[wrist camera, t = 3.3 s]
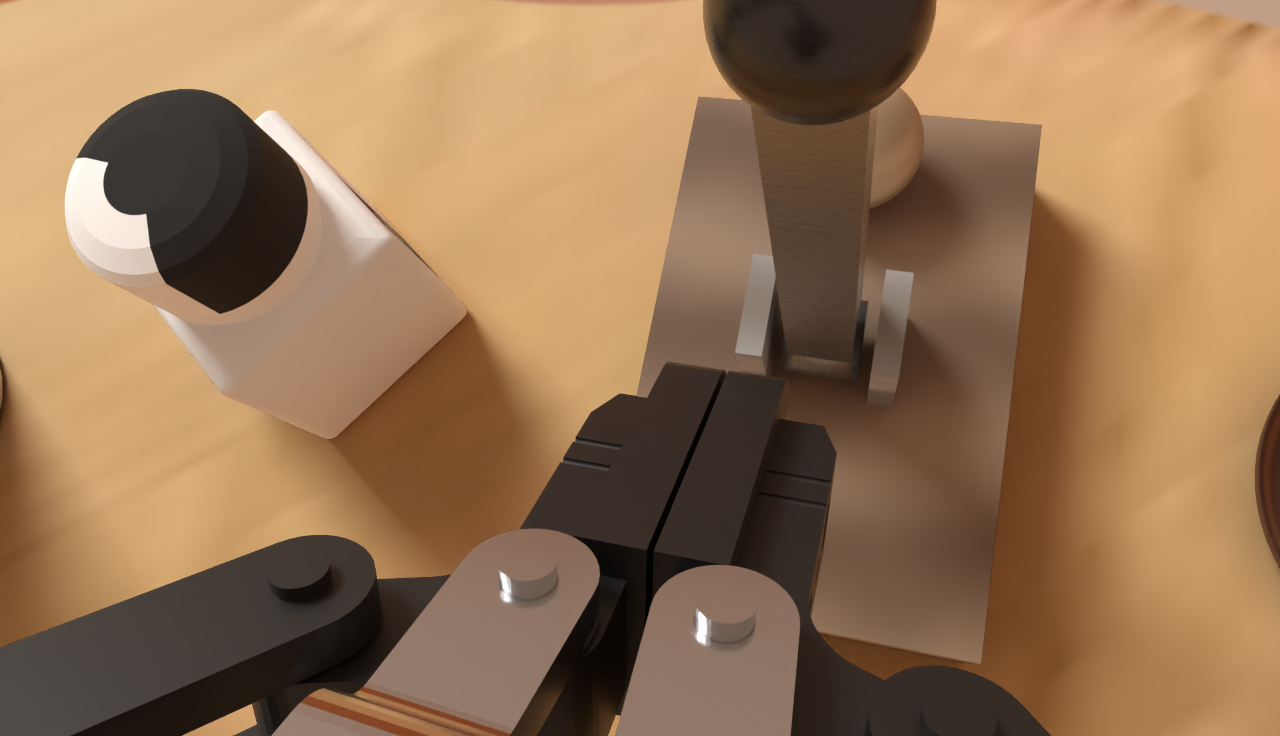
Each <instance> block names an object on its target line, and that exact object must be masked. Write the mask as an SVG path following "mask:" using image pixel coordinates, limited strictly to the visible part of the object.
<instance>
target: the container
mask: <svg viewBox="0 0 1280 736" xmlns="http://www.w3.org/2000/svg"><path fill="white" fill-rule="evenodd" d="M65 218H66V227H67V231H68V235H69V239H70V241H71V244H72V246H73V248H74V250H75V252H76V254H77V255H78V256H79V258H80V259H81V261H82V262H83V263H84V264H85V265H86V266H87V267H88V268H89V269H90V270H91V271H92V272H94V273H95V274H97V275H98V276H100V277H101V278H103V279H105V280H107V281H109V282H111V283H113V284H115V285H116V286H118V287H120V288H122V289H124V290H126V291H128V292H130V293H132V294H134V295H136V296H138V297H140V298H142V299H143V300H145V301H147V302H149V303H151V304H152V305H153V306H154V308H155V309H156V310H157V311H158V313H159V314H160V315H161V317H162V318H163V319H164V320H165V322H166V323H167V324H168V326H169V327H170V328H171V329H172V331H173V332H174V333H175V335H176V336H177V337H178V339H179V340H180V341H181V342H182V344H183V345H184V346H185V348H186V349H187V350H188V351H189V353H190V354H191V355H192V357H193V358H194V359H195V360H196V362H197V363H198V364H199V366H200V367H201V368H202V369H203V371H204V372H205V373H206V375H207V376H208V377H209V378H210V380H211V381H212V382H213V384H214V385H215V386H216V387H217V389H218V390H219V391H220V392H221V393H222V394H223V395H225V396H227V397H229V398H232V399H234V400H236V401H239V402H241V403H243V404H246V405H248V406H250V407H253V408H255V409H257V410H260V411H262V412H264V413H267V414H269V415H271V416H274V417H276V418H278V419H281V420H283V421H285V422H288V423H290V424H292V425H295V426H297V427H299V428H302V429H304V430H306V431H309V432H311V433H313V434H315V435H318V436H320V437H322V438H325V439H333V438H335V437H336V436H338V435H339V434H340V433H341V432H342V431H343V430H344V429H345V428H346V427H347V426H348V425H349V424H350V423H352V422H353V421H354V420H355V419H356V418H357V417H358V416H359V415H360V414H361V413H362V412H363V411H364V410H365V409H367V408H368V407H369V406H370V405H371V404H372V403H373V402H374V401H375V400H376V399H377V398H378V397H379V396H381V395H382V394H383V393H384V392H385V391H386V390H387V389H388V388H389V387H390V386H391V385H392V384H393V383H394V382H396V381H397V380H398V379H399V378H400V377H401V376H402V375H403V374H404V373H405V372H406V371H407V370H408V369H409V368H411V367H412V366H413V365H414V364H415V363H416V362H417V361H418V360H419V359H420V358H421V357H422V356H423V355H425V354H426V353H427V352H428V351H429V350H430V349H431V348H432V347H433V346H434V345H435V344H436V343H437V342H438V341H440V340H441V339H442V338H443V337H444V336H445V335H446V334H447V333H448V332H449V331H450V330H451V329H452V328H453V327H455V326H456V325H457V324H458V323H459V322H460V321H461V320H462V319H463V318H464V317H465V315H466V311H467V310H466V307H465V305H464V303H463V302H462V301H461V300H460V299H459V298H458V297H457V296H456V295H455V294H454V293H453V292H452V290H451V289H450V288H449V287H448V286H447V285H446V284H445V283H444V282H443V281H442V280H441V279H440V278H439V276H438V275H437V274H436V273H435V272H434V271H433V270H432V269H431V268H430V267H429V266H428V265H427V264H426V263H425V261H424V260H423V259H422V258H421V257H420V256H419V255H418V254H417V253H416V252H415V251H414V250H413V249H412V248H411V246H410V245H409V244H408V243H407V242H406V241H405V240H404V239H403V238H402V237H401V236H400V235H399V234H398V233H397V231H396V230H395V229H394V228H393V227H392V226H391V225H390V224H389V223H388V222H387V221H386V220H385V219H384V218H383V216H382V215H381V214H380V213H379V212H378V211H377V210H376V209H375V208H374V207H373V206H372V205H371V204H370V203H369V201H368V200H367V199H366V198H365V197H364V196H363V195H362V194H361V193H360V192H359V191H358V190H357V189H356V188H355V187H354V186H353V185H352V184H350V183H349V182H348V181H347V180H346V179H345V178H344V177H343V176H342V175H341V174H340V173H339V172H338V171H337V170H336V169H335V168H334V167H333V166H332V165H331V164H330V163H329V162H328V161H327V160H326V159H325V158H324V157H323V156H322V155H321V154H320V153H319V152H318V151H317V150H316V149H315V148H314V147H313V146H312V145H311V144H310V143H309V142H308V141H307V140H306V139H305V138H304V137H303V136H302V135H301V134H300V133H299V132H298V131H297V130H296V129H294V128H293V127H292V126H291V125H290V124H289V123H288V122H287V121H286V120H285V119H284V118H283V117H282V116H281V115H280V114H279V113H277V112H275V111H272V110H271V111H266V112H265V113H263V114H262V115H261V116H260V117H259V118H258V119H256V120H255V121H253V120H252V119H251V118H250V117H248V116H247V115H246V114H245V113H244V112H243V111H242V110H241V109H240V108H239V107H238V106H236V105H235V104H233V103H232V102H231V101H229V100H228V99H226V98H224V97H222V96H219V95H217V94H214V93H211V92H207V91H203V90H195V89H178V90H171V91H165V92H160V93H156V94H152V95H149V96H146V97H143V98H141V99H138V100H136V101H134V102H132V103H130V104H128V105H127V106H125V107H123V108H121V109H120V110H119V111H117V112H116V113H114V114H113V115H112V116H110V117H109V118H108V119H107V120H106V121H105V122H104V123H102V124H101V125H100V126H99V127H98V129H97V130H96V131H95V132H94V133H93V134H92V135H91V136H90V138H89V139H88V141H87V142H86V143H85V145H84V146H83V148H82V149H81V151H80V153H79V155H78V156H77V158H76V160H75V163H74V165H73V167H72V170H71V172H70V176H69V179H68V182H67V188H66V194H65Z"/></svg>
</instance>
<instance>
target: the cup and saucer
mask: <svg viewBox="0 0 1280 736" xmlns="http://www.w3.org/2000/svg"><path fill="white" fill-rule="evenodd" d="M1255 492H1256V501H1257V508H1258V512H1259V517H1260V521H1261V525H1262V528H1263V531H1264V534H1265V537H1266V540H1267V543H1268V545H1269V547H1270V550H1271V552H1272V554H1273V556H1274V559H1275V561H1276V562H1277V564H1278V566H1279V568H1280V395H1279V396H1278V398H1277V400H1276V401H1275V403H1274V405H1273V407H1272V409H1271V411H1270V413H1269V415H1268V417H1267V419H1266V422H1265V425H1264V427H1263V430H1262V433H1261V436H1260V440H1259V445H1258V449H1257V455H1256V464H1255Z"/></svg>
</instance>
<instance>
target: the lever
mask: <svg viewBox="0 0 1280 736" xmlns="http://www.w3.org/2000/svg"><path fill="white" fill-rule="evenodd" d="M935 13H936V0H704V1H703V21H704V29H705V35H706V40H707V43H708V46H709V49H710V52H711V55H712V58H713V61H714V62H715V64H716V66H717V68H718V70H719V72H720V73H721V75H722V77H723V78H724V80H725V81H726V82H727V84H728V85H729V86H730V88H731V89H732V90H733V91H734V92H735V93H736V94H737V95H738V96H739V97H740V98H741V99H743V100H744V101H745V102H746V103H748V104H749V105H750V106H751V112H752V118H753V125H754V132H755V139H756V146H757V153H758V159H759V166H760V173H761V180H762V187H763V193H764V200H765V207H766V214H767V221H768V228H769V234H770V241H771V248H772V255H773V262H774V269H775V275H776V282H777V289H778V296H779V303H780V310H781V316H782V323H783V337H782V345H781V356H780V370H781V371H782V372H788V373H795V374H802V375H809V376H816V377H823V378H830V379H837V380H844V381H851V382H857V378H858V372H859V366H860V360H861V353H862V346H863V340H864V333H865V326H866V319H867V311H868V303H869V301H866V300H862V291H863V279H864V267H865V256H866V244H867V232H868V221H869V209H870V197H871V185H872V174H873V162H874V150H875V139H876V127H877V115H878V105H879V104H881V103H882V102H883V101H885V100H886V99H887V98H889V97H890V96H891V95H892V94H893V93H894V92H895V91H896V90H897V89H898V88H899V87H900V86H901V85H902V84H903V83H904V82H905V81H906V80H907V78H908V77H909V76H910V74H911V73H912V72H913V70H914V69H915V67H916V65H917V64H918V62H919V60H920V58H921V56H922V54H923V53H924V51H925V49H926V46H927V43H928V41H929V38H930V35H931V31H932V28H933V23H934V19H935Z"/></svg>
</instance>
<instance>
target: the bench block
mask: <svg viewBox="0 0 1280 736" xmlns="http://www.w3.org/2000/svg"><path fill="white" fill-rule="evenodd" d="M1041 128H1042V125H1036V124H1024V123H1012V122H1000V121H988V120H975V119H963V118H951V117H939V116H927V115H920V114H919V112H918V109H917V108H916V106H915V104H914V103H913V101H912V100H911V98H910V97H909V96H908V95H907V94H906V93H905V92H904V91H903V90H902V89H901V88H900V87H899V88H898V89H897V90H896V91H895V92H894V93H893V94H892V95H891V96H890V97H889V98H887V99H886V100H885V101H883V102H882V103H881V104H879V105H878V115H877V127H876V139H875V150H874V162H873V174H872V185H871V197H870V209H869V221H868V232H867V244H866V256H865V267H864V279H863V291H862V300H866V301H869V303H868V311H867V319H866V326H865V333H864V340H863V346H862V353H861V360H860V366H859V372H858V378H857V382H851V381H844V380H837V379H830V378H823V377H816V376H809V375H802V374H795V373H788V372H782V371H781V370H780V356H781V345H782V337H783V323H782V316H781V310H780V303H779V296H778V289H777V282H776V275H775V269H774V262H773V255H772V248H771V241H770V234H769V228H768V221H767V214H766V207H765V200H764V193H763V187H762V180H761V173H760V166H759V159H758V153H757V146H756V139H755V132H754V125H753V118H752V112H751V106H750V105H749V104H748V103H746V102H745V101H744V100H733V99H721V98H709V97H698V101H697V106H696V111H695V116H694V121H693V125H692V130H691V135H690V140H689V145H688V150H687V154H686V159H685V164H684V169H683V174H682V179H681V183H680V188H679V193H678V198H677V203H676V208H675V213H674V217H673V222H672V227H671V232H670V237H669V242H668V246H667V251H666V256H665V261H664V266H663V271H662V275H661V280H660V285H659V290H658V295H657V300H656V304H655V309H654V314H653V319H652V324H651V329H650V333H649V338H648V343H647V348H646V353H645V358H644V362H643V367H642V372H641V377H640V382H639V387H638V391H637V396H639V397H645V398H647V397H648V395H649V393H650V391H651V389H652V387H653V385H654V384H655V382H656V380H657V378H658V376H659V374H660V372H661V370H662V368H663V367H664V365H665V363H666V362H675V363H682V364H689V365H695V366H702V367H708V368H715V369H722V370H725V371H726V375H727V373H728V371H736V372H743V373H750V374H756V375H763V376H770V377H776V378H783V379H788V397H787V407H786V416H785V420H790V421H796V422H803V423H809V424H815V425H821V426H824V427H825V429H826V431H827V433H828V435H829V438H830V440H831V442H832V444H833V446H834V448H835V450H836V452H837V456H836V463H835V471H834V478H833V485H832V492H831V500H830V507H829V514H828V522H827V529H826V536H825V543H824V551H823V556H822V562H821V567H820V573H819V578H818V582H817V589H816V594H815V599H814V605H813V609H812V616H811V618H812V621H813V624H814V626H815V628H816V629H817V631H818V633H819V634H823V635H828V636H833V637H838V638H843V639H848V640H853V641H858V642H862V643H867V644H872V645H877V646H882V647H887V648H892V649H897V650H902V651H907V652H912V653H917V654H922V655H927V656H932V657H936V658H941V659H946V660H951V661H956V662H961V663H972V664H981V660H982V651H983V642H984V633H985V624H986V616H987V607H988V598H989V589H990V580H991V571H992V562H993V554H994V545H995V536H996V527H997V518H998V509H999V500H1000V491H1001V483H1002V474H1003V465H1004V456H1005V447H1006V438H1007V429H1008V421H1009V412H1010V403H1011V394H1012V385H1013V376H1014V367H1015V359H1016V350H1017V341H1018V332H1019V323H1020V314H1021V305H1022V296H1023V288H1024V279H1025V270H1026V261H1027V252H1028V243H1029V234H1030V226H1031V217H1032V208H1033V199H1034V190H1035V181H1036V172H1037V164H1038V155H1039V146H1040V137H1041Z"/></svg>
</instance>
